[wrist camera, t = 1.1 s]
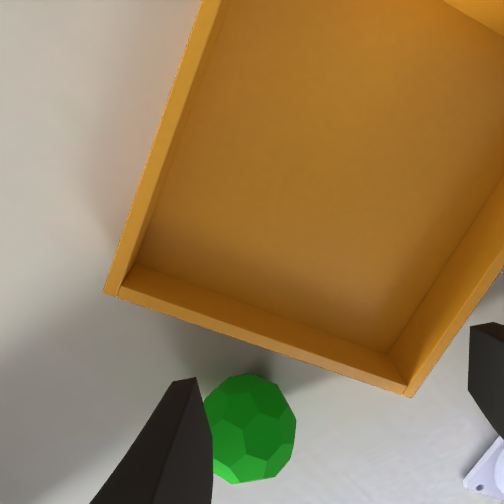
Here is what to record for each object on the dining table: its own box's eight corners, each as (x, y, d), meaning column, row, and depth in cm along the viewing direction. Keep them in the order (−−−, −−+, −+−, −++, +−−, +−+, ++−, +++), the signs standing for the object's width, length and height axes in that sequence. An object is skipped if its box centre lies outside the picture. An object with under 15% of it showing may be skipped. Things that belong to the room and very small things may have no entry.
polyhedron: (282, 349, 20) (298, 416, 15) (293, 419, 22) (310, 497, 17) (191, 365, 20) (181, 436, 15) (209, 433, 22) (204, 516, 17)
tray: (575, 69, 16) (650, 58, 13) (387, 361, 21) (412, 399, 18) (258, -124, 13) (266, -191, 10) (121, 265, 18) (101, 292, 15)
